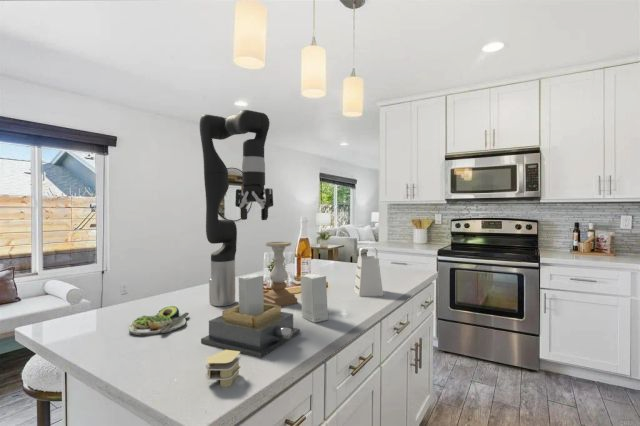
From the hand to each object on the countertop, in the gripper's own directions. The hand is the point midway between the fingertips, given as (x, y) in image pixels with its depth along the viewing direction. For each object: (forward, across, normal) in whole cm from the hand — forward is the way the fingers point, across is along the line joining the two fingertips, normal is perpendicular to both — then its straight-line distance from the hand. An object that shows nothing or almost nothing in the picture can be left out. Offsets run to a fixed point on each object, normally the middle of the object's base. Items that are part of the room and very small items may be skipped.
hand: (254, 219), depth 113 cm
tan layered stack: (+34, -20, +34) cm, 52 cm away
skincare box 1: (+28, -10, +13) cm, 32 cm away
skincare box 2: (+34, -17, -10) cm, 40 cm away
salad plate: (+35, +24, +18) cm, 46 cm away
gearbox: (+34, -11, +13) cm, 38 cm away
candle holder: (+34, +5, -21) cm, 40 cm away
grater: (+34, -22, -52) cm, 66 cm away
